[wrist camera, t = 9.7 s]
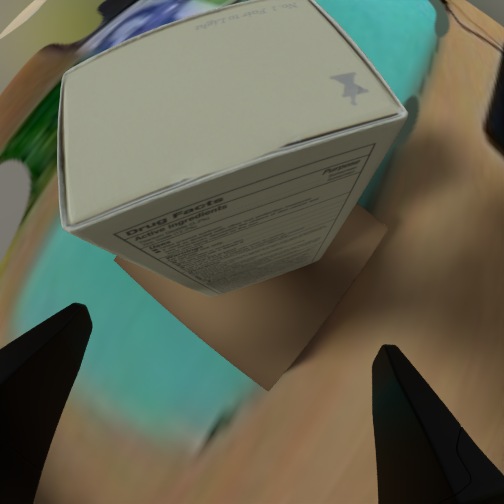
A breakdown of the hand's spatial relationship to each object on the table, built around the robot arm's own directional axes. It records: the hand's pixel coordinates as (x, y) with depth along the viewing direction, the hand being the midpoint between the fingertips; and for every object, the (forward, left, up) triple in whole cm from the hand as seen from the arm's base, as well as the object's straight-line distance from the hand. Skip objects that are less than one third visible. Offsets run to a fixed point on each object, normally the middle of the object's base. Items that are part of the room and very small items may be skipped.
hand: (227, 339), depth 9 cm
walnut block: (+4, +2, -11) cm, 12 cm away
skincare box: (+4, +2, -7) cm, 9 cm away
